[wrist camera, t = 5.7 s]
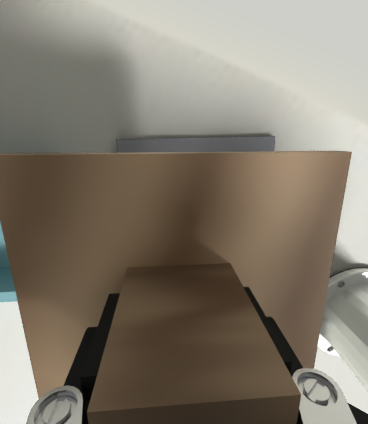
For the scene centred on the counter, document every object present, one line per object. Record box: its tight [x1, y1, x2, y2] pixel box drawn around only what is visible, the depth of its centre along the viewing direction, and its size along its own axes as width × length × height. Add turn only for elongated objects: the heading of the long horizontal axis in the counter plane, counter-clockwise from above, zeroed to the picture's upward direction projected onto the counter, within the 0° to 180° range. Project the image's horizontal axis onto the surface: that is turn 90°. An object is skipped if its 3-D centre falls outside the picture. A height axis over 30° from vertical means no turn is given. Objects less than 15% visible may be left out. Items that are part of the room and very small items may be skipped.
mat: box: [116, 136, 275, 153], centre depth 28 cm, size 16×16×1 cm
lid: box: [0, 151, 352, 424], centre depth 9 cm, size 14×14×7 cm
